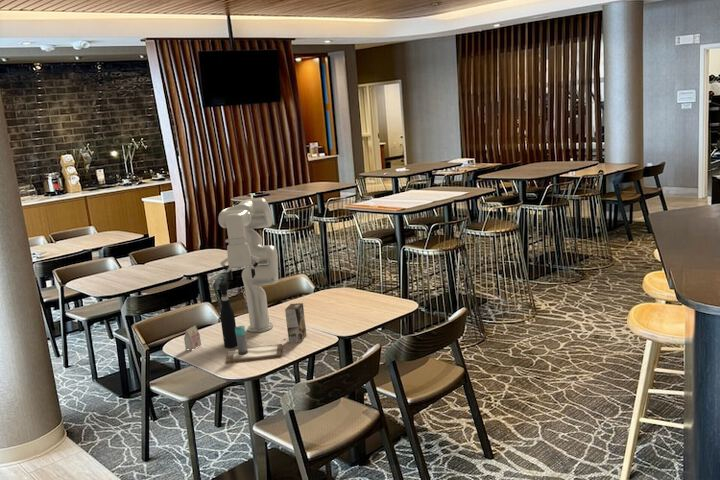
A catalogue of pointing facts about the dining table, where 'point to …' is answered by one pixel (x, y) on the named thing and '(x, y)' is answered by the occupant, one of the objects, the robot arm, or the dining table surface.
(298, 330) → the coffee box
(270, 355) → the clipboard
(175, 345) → the dining table surface
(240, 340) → the marker
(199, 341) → the red and white box
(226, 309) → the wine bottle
